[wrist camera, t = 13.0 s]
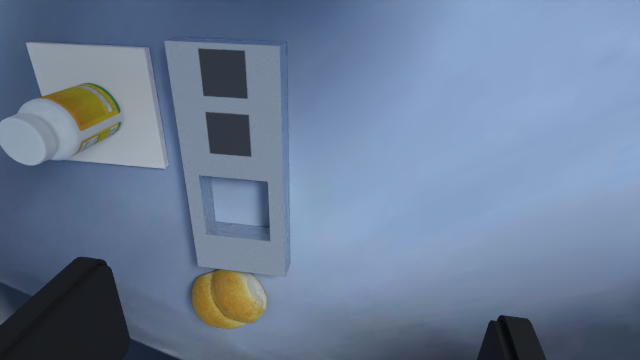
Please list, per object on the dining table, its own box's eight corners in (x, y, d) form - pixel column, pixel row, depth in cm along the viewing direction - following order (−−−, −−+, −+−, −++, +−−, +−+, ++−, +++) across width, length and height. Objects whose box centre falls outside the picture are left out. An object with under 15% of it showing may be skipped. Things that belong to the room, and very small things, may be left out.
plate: (32, 41, 38) (25, 42, 37) (149, 47, 36) (144, 48, 35) (66, 156, 43) (61, 159, 42) (169, 165, 42) (165, 168, 41)
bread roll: (185, 277, 49) (169, 300, 45) (243, 256, 46) (231, 279, 42) (221, 324, 52) (209, 349, 48) (278, 307, 49) (270, 332, 45)
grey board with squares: (178, 37, 35) (163, 41, 33) (286, 41, 34) (279, 46, 32) (207, 252, 46) (197, 266, 44) (290, 262, 45) (285, 277, 43)
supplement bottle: (127, 139, 40) (57, 181, 32) (77, 126, 40) (-5, 165, 32) (125, 87, 37) (48, 119, 29) (72, 74, 38) (-19, 101, 29)
